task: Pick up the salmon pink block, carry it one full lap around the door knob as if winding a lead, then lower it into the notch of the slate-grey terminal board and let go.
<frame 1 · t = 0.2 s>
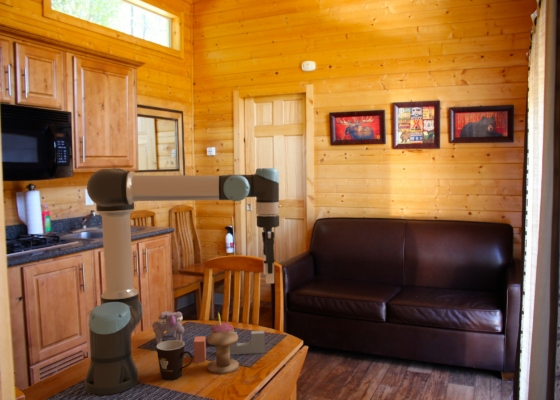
hand: (268, 278, 163), 27 cm above the table, fingers open, 13 cm apart
notch board: (244, 352, 171), on the table
cupcake: (222, 342, 181), on the table
salmon pink block: (200, 359, 165), on the table
pale pink animal-shaped figure: (170, 346, 178), on the table
coffee mug: (173, 378, 151), on the table
door knob: (223, 367, 158), on the table
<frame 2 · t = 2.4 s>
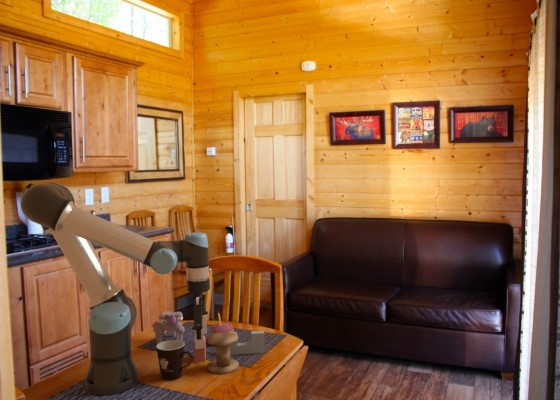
hand: (201, 340, 165), 6 cm above the table, fingers open, 13 cm apart
nothing on the table moved.
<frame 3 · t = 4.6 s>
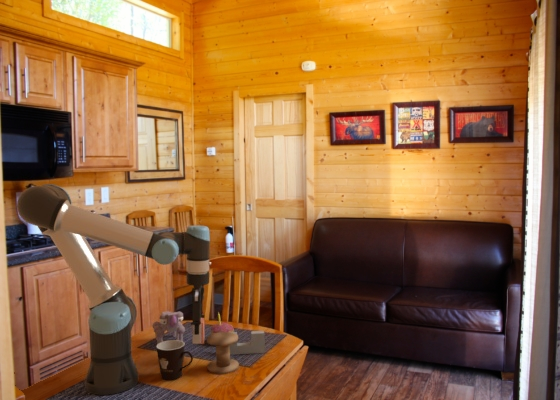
hand: (197, 340, 165), 7 cm above the table, fingers closed on salmon pink block, 5 cm apart
salmon pink block: (198, 341, 165), point 6 cm above the table, touching gripper
everything else where it was.
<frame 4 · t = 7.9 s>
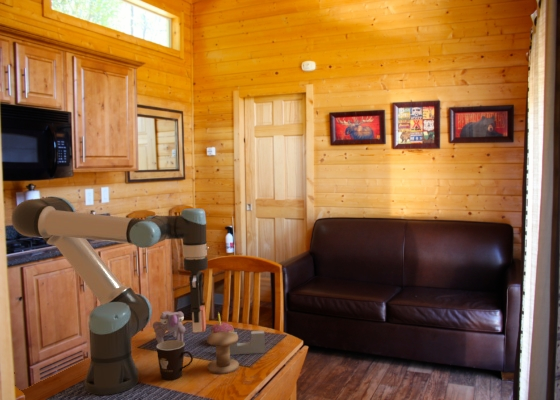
hand: (198, 328, 157), 13 cm above the table, fingers closed on salmon pink block, 5 cm apart
salmon pink block: (199, 329, 157), point 13 cm above the table, touching gripper
everything else where it was.
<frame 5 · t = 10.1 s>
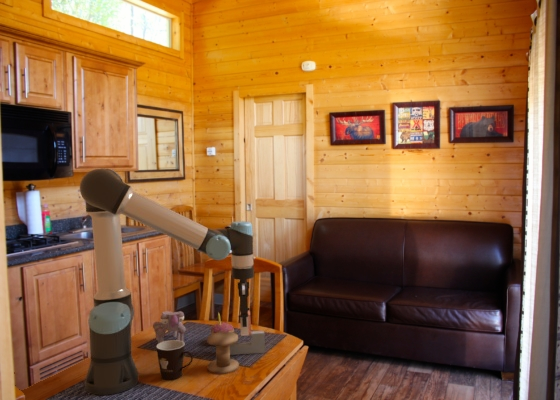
hand: (244, 332, 170), 7 cm above the table, fingers closed on salmon pink block, 5 cm apart
salmon pink block: (246, 332, 170), point 7 cm above the table, touching gripper
everything else where it was.
when the fingers open (3 cm above the table, at t = 11.2 s): salmon pink block stays where it is, resting on notch board.
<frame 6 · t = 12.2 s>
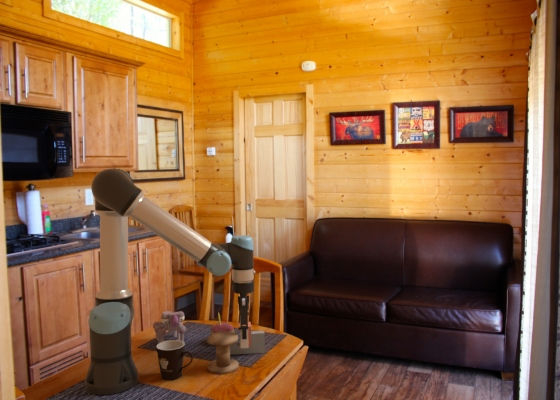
hand: (244, 340, 170), 4 cm above the table, fingers open, 13 cm apart
salmon pink block: (246, 344, 170), point 3 cm above the table, touching notch board
everything else where it was.
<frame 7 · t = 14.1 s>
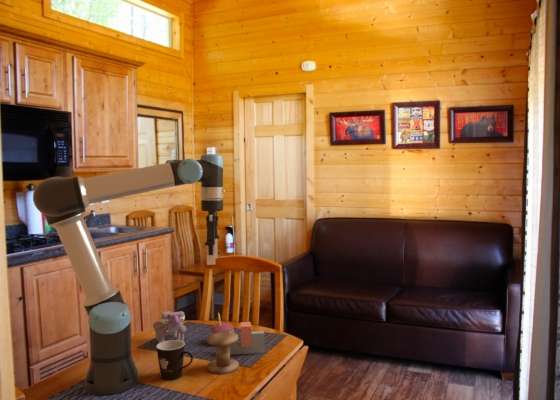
hand: (212, 260, 169), 32 cm above the table, fingers open, 13 cm apart
nothing on the table moved.
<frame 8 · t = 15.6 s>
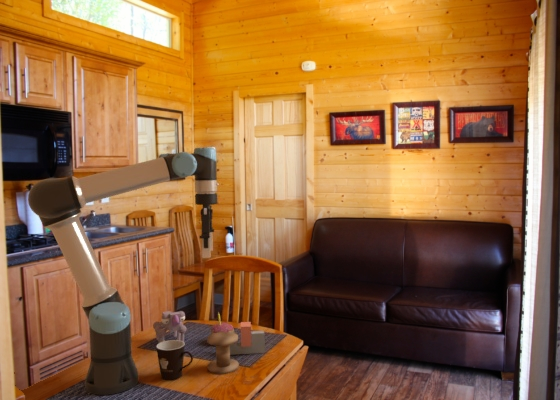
hand: (207, 254, 169), 35 cm above the table, fingers open, 13 cm apart
nothing on the table moved.
at the end: salmon pink block 0.6 cm off-centre on the notch board, point 3.0 cm above the notch board's base; the gripper is holding nothing; salmon pink block tilted 0° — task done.
